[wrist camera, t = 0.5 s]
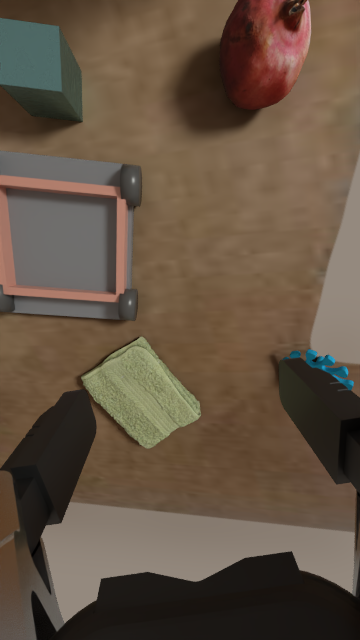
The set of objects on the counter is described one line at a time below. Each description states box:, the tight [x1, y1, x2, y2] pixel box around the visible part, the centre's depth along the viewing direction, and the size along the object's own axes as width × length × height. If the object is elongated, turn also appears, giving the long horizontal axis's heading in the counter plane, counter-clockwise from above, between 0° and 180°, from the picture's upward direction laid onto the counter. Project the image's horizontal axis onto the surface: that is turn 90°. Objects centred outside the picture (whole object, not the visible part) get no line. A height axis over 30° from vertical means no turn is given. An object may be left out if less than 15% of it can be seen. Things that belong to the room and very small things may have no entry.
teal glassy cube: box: [0, 18, 83, 122], centre depth 26 cm, size 5×6×6 cm
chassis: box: [0, 151, 142, 321], centre depth 31 cm, size 20×19×4 cm
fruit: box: [220, 0, 311, 110], centre depth 24 cm, size 9×10×10 cm
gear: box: [282, 349, 354, 390], centre depth 38 cm, size 11×6×10 cm
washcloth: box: [81, 336, 201, 448], centre depth 39 cm, size 13×18×3 cm
